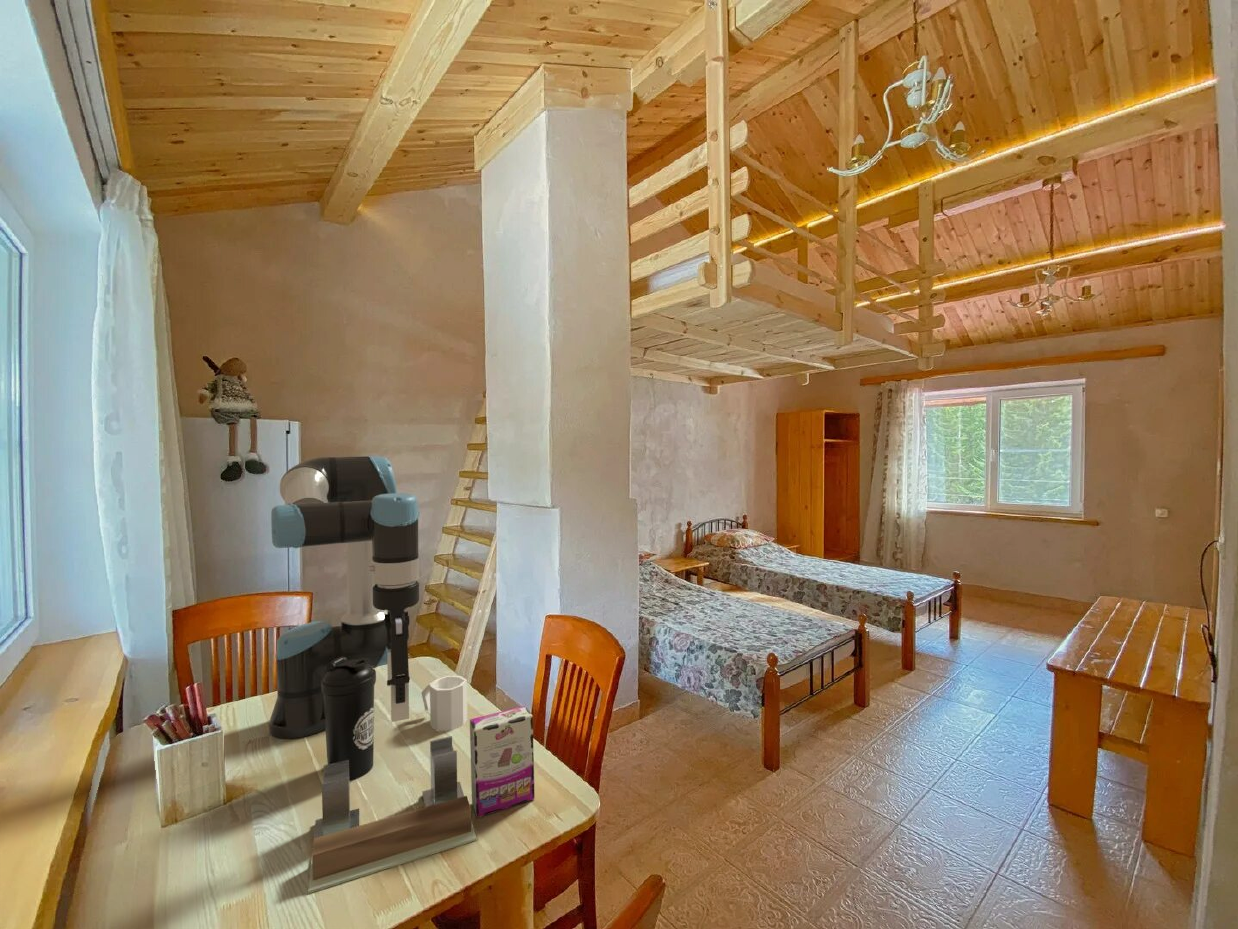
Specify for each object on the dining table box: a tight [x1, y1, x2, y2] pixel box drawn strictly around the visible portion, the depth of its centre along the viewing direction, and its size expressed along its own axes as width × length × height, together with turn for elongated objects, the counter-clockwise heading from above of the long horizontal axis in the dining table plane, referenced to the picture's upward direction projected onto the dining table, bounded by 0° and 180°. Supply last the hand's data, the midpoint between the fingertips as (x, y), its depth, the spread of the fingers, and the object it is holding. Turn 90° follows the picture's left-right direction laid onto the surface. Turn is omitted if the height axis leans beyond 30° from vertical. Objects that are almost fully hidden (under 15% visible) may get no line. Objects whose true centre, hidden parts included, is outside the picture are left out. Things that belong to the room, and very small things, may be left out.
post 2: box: [421, 735, 465, 807], centre depth 102 cm, size 7×7×11 cm
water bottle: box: [321, 656, 377, 782], centre depth 112 cm, size 10×10×23 cm
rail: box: [311, 795, 472, 880], centre depth 90 cm, size 4×24×4 cm, turn 116°
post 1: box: [312, 760, 360, 844], centre depth 94 cm, size 7×7×11 cm
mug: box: [421, 675, 468, 732], centre depth 132 cm, size 12×9×10 cm
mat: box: [307, 821, 477, 895], centre depth 90 cm, size 8×25×1 cm, turn 116°
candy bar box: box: [469, 705, 535, 818], centre depth 102 cm, size 11×5×16 cm, turn 118°
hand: (397, 700), depth 95 cm, fingers open, 13 cm apart
